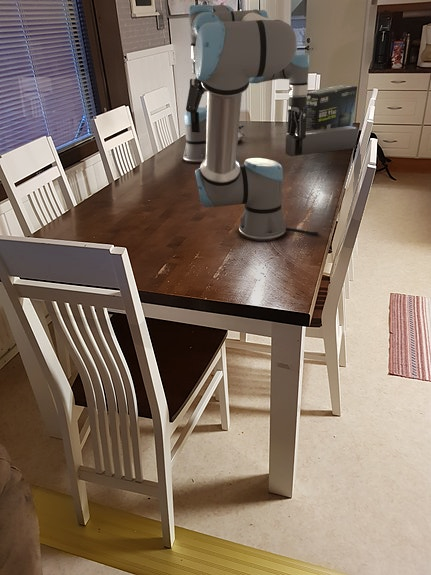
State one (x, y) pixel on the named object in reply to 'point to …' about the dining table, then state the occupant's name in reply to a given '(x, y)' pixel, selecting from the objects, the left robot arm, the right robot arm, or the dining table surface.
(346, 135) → the bar
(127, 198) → the dining table surface
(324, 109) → the router box
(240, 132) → the fossil
